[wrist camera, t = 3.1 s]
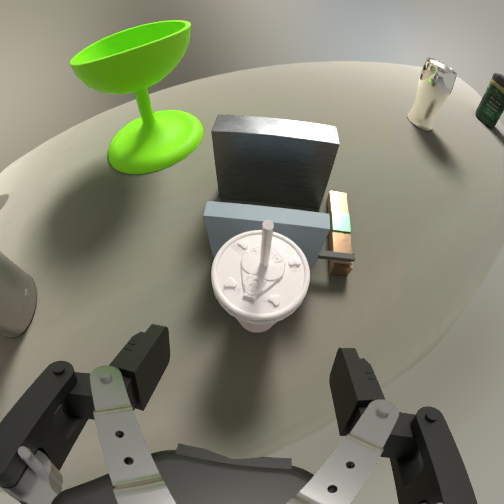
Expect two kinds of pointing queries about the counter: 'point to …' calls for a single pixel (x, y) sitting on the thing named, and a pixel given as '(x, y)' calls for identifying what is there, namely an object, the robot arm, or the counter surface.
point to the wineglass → (142, 93)
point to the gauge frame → (282, 169)
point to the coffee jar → (492, 101)
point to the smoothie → (260, 277)
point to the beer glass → (431, 93)
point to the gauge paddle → (285, 223)
